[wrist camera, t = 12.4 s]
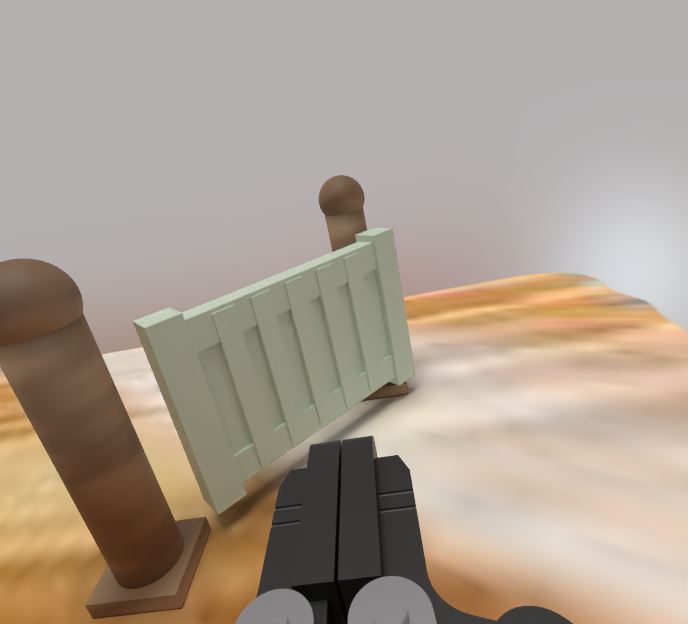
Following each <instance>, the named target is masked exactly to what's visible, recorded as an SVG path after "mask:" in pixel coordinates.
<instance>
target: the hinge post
mask: <svg viewBox="0 0 688 624" xmlns="http://www.w3.org/2000/svg"><path fill="white" fill-rule="evenodd" d="M0 367H1V368H2V370H3V372H4V374H5V376H6V378H7V380H8V381H9V383H10V385H11V387H12V389H13V391H14V393H15V394H16V396H17V398H18V400H19V402H20V404H21V405H22V407H23V409H24V411H25V413H26V415H27V416H28V418H29V420H30V422H31V424H32V426H33V428H34V429H35V431H36V433H37V435H38V437H39V439H40V440H41V442H42V444H43V446H44V448H45V450H46V451H47V453H48V455H49V457H50V459H51V461H52V463H53V464H54V466H55V468H56V470H57V472H58V474H59V475H60V477H61V479H62V481H63V483H64V485H65V486H66V488H67V490H68V492H69V494H70V496H71V498H72V499H73V501H74V503H75V505H76V507H77V509H78V510H79V512H80V514H81V516H82V518H83V520H84V522H85V523H86V525H87V527H88V529H89V531H90V533H91V534H92V536H93V538H94V540H95V542H96V544H97V545H98V547H99V549H100V551H101V553H102V555H103V557H104V558H105V560H106V562H107V564H108V567H107V568H106V570H105V572H104V574H103V575H102V577H101V579H100V581H99V582H98V584H97V586H96V588H95V589H94V591H93V593H92V595H91V596H90V598H89V600H88V602H87V603H86V605H85V606H86V608H87V609H88V611H89V613H90V614H91V616H92V618H99V617H107V616H116V615H124V614H133V613H142V612H150V611H159V610H167V609H176V608H182V606H183V603H184V600H185V598H186V595H187V592H188V590H189V587H190V584H191V581H192V579H193V576H194V573H195V570H196V568H197V565H198V562H199V559H200V557H201V554H202V551H203V548H204V546H205V543H206V540H207V537H208V535H209V532H210V529H211V528H210V526H209V523H208V521H207V519H206V517H201V518H194V519H186V520H179V521H175V520H174V517H173V515H172V513H171V511H170V508H169V506H168V504H167V502H166V499H165V497H164V495H163V493H162V490H161V488H160V486H159V484H158V481H157V479H156V477H155V475H154V472H153V470H152V468H151V466H150V463H149V461H148V459H147V456H146V454H145V452H144V450H143V447H142V445H141V443H140V441H139V438H138V436H137V434H136V432H135V429H134V427H133V425H132V423H131V420H130V418H129V416H128V414H127V411H126V409H125V407H124V405H123V402H122V400H121V398H120V396H119V393H118V391H117V389H116V387H115V384H114V382H113V380H112V378H111V375H110V373H109V371H108V369H107V366H106V364H105V362H104V359H103V357H102V355H101V353H100V351H99V348H98V346H97V344H96V341H95V339H94V337H93V335H92V332H91V330H90V328H89V326H88V324H87V321H86V319H85V317H84V314H83V301H82V296H81V293H80V291H79V289H78V287H77V285H76V283H75V282H74V281H73V279H72V278H71V277H70V276H69V275H68V274H66V273H65V272H64V271H62V270H61V269H59V268H58V267H56V266H54V265H52V264H49V263H46V262H43V261H39V260H34V259H12V260H7V261H4V262H0Z"/></svg>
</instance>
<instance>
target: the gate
mask: <svg viewBox="0 0 688 624" xmlns="http://www.w3.org/2000/svg"><path fill="white" fill-rule="evenodd" d="M355 239H356V243H354V244H351V245H349V246H346V247H344V248H342V249H339V250H337V251H334V252H332V253H329V254H327V255H324V256H322V257H319V258H317V259H314V260H312V261H309V262H307V263H304V264H302V265H299V266H297V267H294V268H292V269H290V270H287V271H284V272H282V273H279V274H277V275H274V276H272V277H269V278H267V279H265V280H262V281H260V282H257V283H255V284H252V285H250V286H247V287H245V288H242V289H240V290H237V291H235V292H232V293H230V294H227V295H225V296H222V297H220V298H217V299H215V300H212V301H210V302H208V303H205V304H202V305H200V306H197V307H195V308H192V309H190V310H187V311H185V312H183V313H181V312H179V311H176V310H173V309H171V308H166V309H163V310H161V311H158V312H155V313H153V314H150V315H148V316H145V317H143V318H140V319H138V320H135V321H133V323H134V326H135V328H136V331H137V333H138V336H139V338H140V341H141V343H142V346H143V348H144V351H145V353H146V356H147V358H148V361H149V363H150V366H151V368H152V371H153V373H154V376H155V378H156V381H157V383H158V386H159V388H160V391H161V393H162V396H163V398H164V400H165V403H166V405H167V408H168V410H169V413H170V415H171V418H172V420H173V423H174V425H175V428H176V430H177V433H178V435H179V438H180V440H181V443H182V445H183V448H184V450H185V453H186V455H187V458H188V460H189V463H190V465H191V468H192V470H193V473H194V475H195V478H196V480H197V483H198V485H199V488H200V490H201V493H202V495H203V498H204V500H205V501H206V502H207V503H208V504H209V505H210V506H211V508H212V509H213V510H214V511H215V512H216V513H217V514H218V515H219V514H220V513H222V512H223V511H225V510H226V509H227V508H229V507H230V506H232V505H233V504H234V503H236V502H237V501H239V500H240V499H241V498H243V497H244V496H246V495H247V494H246V491H245V489H244V486H243V482H245V481H246V480H248V479H249V478H250V477H252V476H253V475H255V474H256V473H258V472H259V471H261V470H262V469H263V468H265V467H266V466H268V465H269V464H271V463H272V462H274V461H275V460H276V459H278V458H279V457H281V456H282V455H284V454H285V453H287V452H288V451H289V450H291V449H292V448H294V447H295V446H297V445H298V444H300V443H301V442H302V441H304V440H305V439H307V438H308V437H310V436H311V435H313V434H314V433H315V432H317V431H318V430H320V429H321V428H323V427H324V426H326V425H327V424H328V423H330V422H331V421H333V420H334V419H336V418H337V417H339V416H340V415H342V414H343V413H344V412H346V411H347V410H349V409H350V408H352V407H353V406H355V405H356V404H357V403H359V402H360V401H362V400H363V399H365V398H366V397H368V396H369V395H370V394H372V393H373V392H375V391H376V390H378V389H379V388H381V387H382V386H383V385H385V384H386V383H388V382H391V383H394V384H396V385H399V386H400V385H401V384H403V383H404V382H405V381H407V380H408V379H410V378H411V377H412V376H414V375H415V370H414V363H413V357H412V351H411V344H410V338H409V331H408V325H407V318H406V312H405V306H404V299H403V293H402V286H401V280H400V274H399V267H398V261H397V255H396V248H395V241H394V235H393V229H392V228H372V229H369V230H367V231H364V232H362V233H359V234H356V235H355Z"/></svg>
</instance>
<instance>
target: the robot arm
mask: <svg viewBox="0 0 688 624" xmlns="http://www.w3.org/2000/svg"><path fill="white" fill-rule="evenodd" d="M275 508H276V511H274V516H273V521H272V528H271V530H270V535H269V540H268V545H267V550H266V555H265V560H264V565H263V569H262V574H261V579H260V584H259V589H258V593H257V597H256V598H255V599H254V600H253V601H252V602H251V603H249V604H248V605H247V607H246V608H245V609H244V610H243V611H242V613H241V614H240V615H239V617H238V619H237V621H236V623H235V624H573V623H571V622H570V621H569V620H567V619H566V618H564V617H563V616H561V615H560V614H557V613H555V612H553V611H551V610H548V609H545V608H542V607H536V606H522V607H517V608H514V609H511V610H509V611H508V612H506V613H504V614H503V615H502V616H501V617H500V618H499V619H498V620H497V621H495V620H491V619H486V618H482V617H478V616H474V615H470V614H467V613H463V612H461V611H459V610H457V609H455V608H453V607H452V606H450V605H449V604H447V603H446V602H445V601H444V600H443V599H442V598H441V597H440V596H439V595H438V594H437V593H436V591H435V590H434V588H433V587H432V585H431V583H430V580H429V578H428V574H427V569H426V563H425V557H424V551H423V545H422V539H421V534H420V528H419V522H418V516H417V510H416V504H415V498H414V492H413V487H412V481H411V475H410V470H409V468H408V467H407V466H406V465H405V463H404V462H403V461H402V460H401V458H400V457H399V456H398V455H395V456H387V457H380V458H378V457H377V452H376V447H375V442H374V438H373V436H368V437H361V438H354V439H347V440H343V441H334V442H327V443H320V444H313V445H311V446H310V450H309V457H308V464H307V468H303V469H296V470H291V471H290V473H289V474H288V476H287V477H286V479H285V480H284V482H283V483H282V484H281V486H280V487H279V491H278V496H277V501H276V506H275Z"/></svg>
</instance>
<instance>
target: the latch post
mask: <svg viewBox="0 0 688 624" xmlns="http://www.w3.org/2000/svg"><path fill="white" fill-rule="evenodd" d="M319 204H320V208H321V210H322V212H323V213H324V214H325V218H326V222H327V227H328V232H329V237H330V241H331V246H332V251H333V252H334V251H337V250H339V249H342V248H344V247H346V246H349V245H351V244H354V243H356V239H355V235H356V234H359V233H362V232H364V231H367V228H366V222H365V217H364V211H363V205H364V193H363V190H362V188H361V186H360V185H359V183H358V182H357V181H355V180H354V179H353V178H351V177H348V176H343V175H340V176H335V177H332V178H330V179H329V180H327V181H326V182H325V183H324V185H323V186H322V188H321V190H320V193H319ZM402 394H408V392H407V386H406V381H405V382H404V383H403V384H401V385H400V386H399V385H396V384H394V383H391V382H388V383H386V384H385V385H383V386H382V387H381V388H379V389H378V390H376V391H375V392H373V393H372V394H370V395H369V396H368V397H366V398H365V399H363V400H369V399H376V398H382V397H389V396H395V395H402ZM363 400H362V401H363Z"/></svg>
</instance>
